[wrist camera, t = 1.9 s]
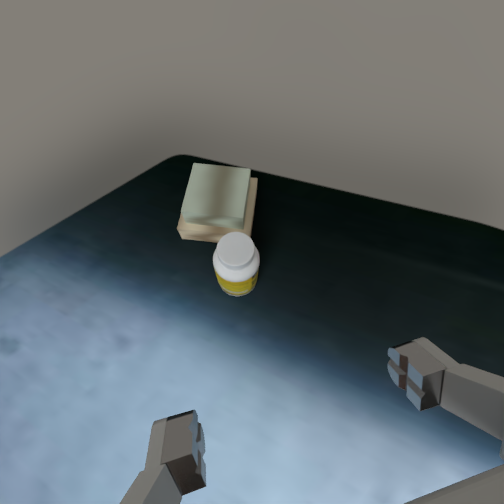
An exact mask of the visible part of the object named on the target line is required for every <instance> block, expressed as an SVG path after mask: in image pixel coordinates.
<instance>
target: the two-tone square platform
mask: <svg viewBox="0 0 504 504" xmlns="http://www.w3.org/2000/svg"><path fill="white" fill-rule="evenodd" d="M257 180H258V178H250V169H247V168H237V167H228V166H218V165H208V164H198V163H194V164H193V168H192V171H191V175H190V179H189V183H188V186H187V190H186V194H185V197H184V201H183V205H182V209H181V216H180V220H179V223H178V227H177V229H178V231H179V233H180V235H181V237H182V239H190V240H199V241H208V242H217V243H218V242H219V240H220V239H221V238H222V237H223V236H224V235H226V234H228V233H230V232H241V233H244V234H246V235H248V236H249V237H250V238H251V231H252V224H253V216H254V209H255V201H256V194H257Z"/></svg>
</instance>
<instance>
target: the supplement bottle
mask: <svg viewBox="0 0 504 504" xmlns="http://www.w3.org/2000/svg"><path fill="white" fill-rule="evenodd" d="M213 264H214V269H215V272H216V275H217V279H218V282H219V285H220V287H221V288H222V289H223V291H225V292H226V293H227V294H229V295H232V296H243V295H246V294H248V293H249V292H250V291H252V290H253V288H254V287H255V285H256V282H257V277H258V270H259V264H260V257H259V252H258V250H257V248H256V247H255V246H254V243H253V241H252V239H251V238H250V237H249V236H248V235H246V234H244V233H241V232H230V233H228V234H226V235H224V236H223V237H222V238H221V239H220V240H219V242H218V245H217V248H216V250H215V252H214V255H213Z"/></svg>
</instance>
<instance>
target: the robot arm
mask: <svg viewBox="0 0 504 504" xmlns="http://www.w3.org/2000/svg"><path fill="white" fill-rule="evenodd" d="M388 356H389V357H390V358H391V359H390V361H389V362H388V371H389V373H390V376H391V378H392V379H393V381H394V382H395V383H396V385H397V386H398V387H400V388H402V389H404V390H406V394H407V397H408V398H409V399H410V401H411V402H412V403H413V404H414V405H415V406H416V407H417V408H418V410H419V411H422V410H425V409H429V408H432V407H435V406H438V405H440V406H441V407H443V408H444V409H446V410H448V411H450V412H452V413H453V414H455V415H457V416H459V417H460V418H462V419H464V420H466V421H468V422H469V423H471V424H473V425H475V426H477V427H478V428H480V429H482V430H484V431H486V432H487V433H489V434H491V435H493V436H495V437H496V438H498V439H500V440H502V445H501V449H500V457H501V458H502V459H503V460H504V377H501V376H498V375H495V374H492V373H489V372H486V371H483V370H480V369H477V368H474V367H471V366H469V365H466V364H461V365H460V364H458V363H457V362H456V361H455V360H453V359H452V358H451V357H450V356H448V355H447V354H446V353H444V352H443V351H442V350H441V349H439V348H438V347H437V346H435V345H434V344H433V343H432V342H430V341H429V340H428V339H426V338H423V337H422V338H419V339H416V340H412V341H408V342H405V343H402V344H399V345H396V346H393V347H390V348H389V350H388ZM204 453H205V440H204V433H203V429H202V426H201V423H199V422H198V415H197V413H196V411H195V410H191V411H188V412H184V413H181V414H177V415H174V416H170V417H167V418H164V419H160V420H157V421H154V423H153V425H152V429H151V435H150V441H149V446H148V452H147V458H146V464H145V470H144V471H141V472H140V473H139V474H138V476H137V478H136V479H135V481H134V482H133V484H132V485H131V487H130V488H129V490H128V491H127V493H126V494H125V496H124V498H123V499H122V501H121V502H120V504H180V502H181V499H182V496H183V495H185V494H188V493H190V492H193V491H195V490H198V489H201V488H203V487H206V465H205V462H204V460H203V455H204ZM404 504H504V464H503V465H500V466H498V467H495V468H493V469H490V470H488V471H485V472H483V473H480V474H477V475H475V476H472V477H470V478H467V479H465V480H462V481H460V482H457V483H455V484H452V485H450V486H447V487H445V488H442V489H439V490H437V491H434V492H432V493H429V494H427V495H424V496H422V497H419V498H417V499H414V500H412V501H409V502H407V503H404Z"/></svg>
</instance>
